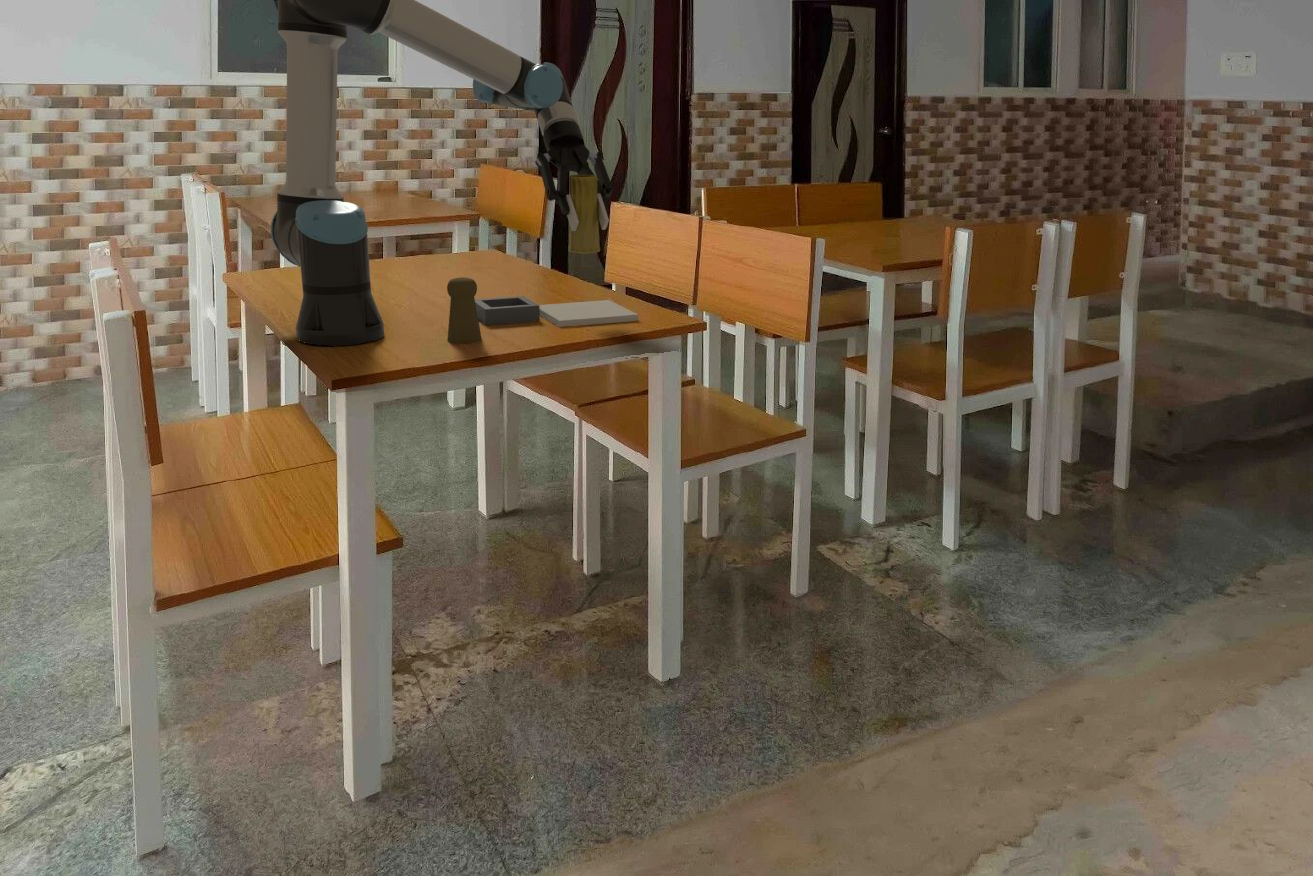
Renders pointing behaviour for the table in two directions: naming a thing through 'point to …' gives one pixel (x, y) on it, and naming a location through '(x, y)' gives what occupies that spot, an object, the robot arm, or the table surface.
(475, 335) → the olive brown pawn
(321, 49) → the robot arm
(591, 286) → the table surface
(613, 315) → the board
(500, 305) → the collar
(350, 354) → the table surface
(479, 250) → the table surface
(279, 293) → the table surface
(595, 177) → the vase
